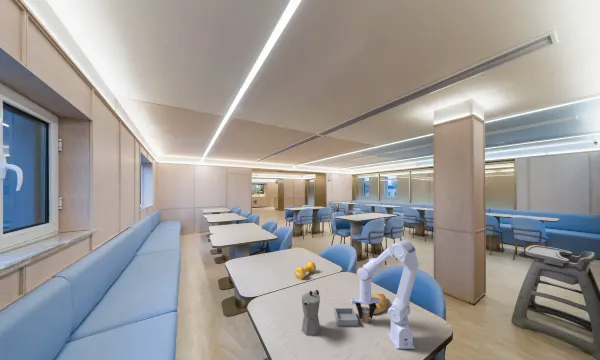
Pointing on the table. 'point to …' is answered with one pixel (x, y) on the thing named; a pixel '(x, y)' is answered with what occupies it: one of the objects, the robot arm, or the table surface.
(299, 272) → the dumbbell
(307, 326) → the coffeepot
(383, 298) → the croissant
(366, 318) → the shaker
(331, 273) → the table surface
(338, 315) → the bin
